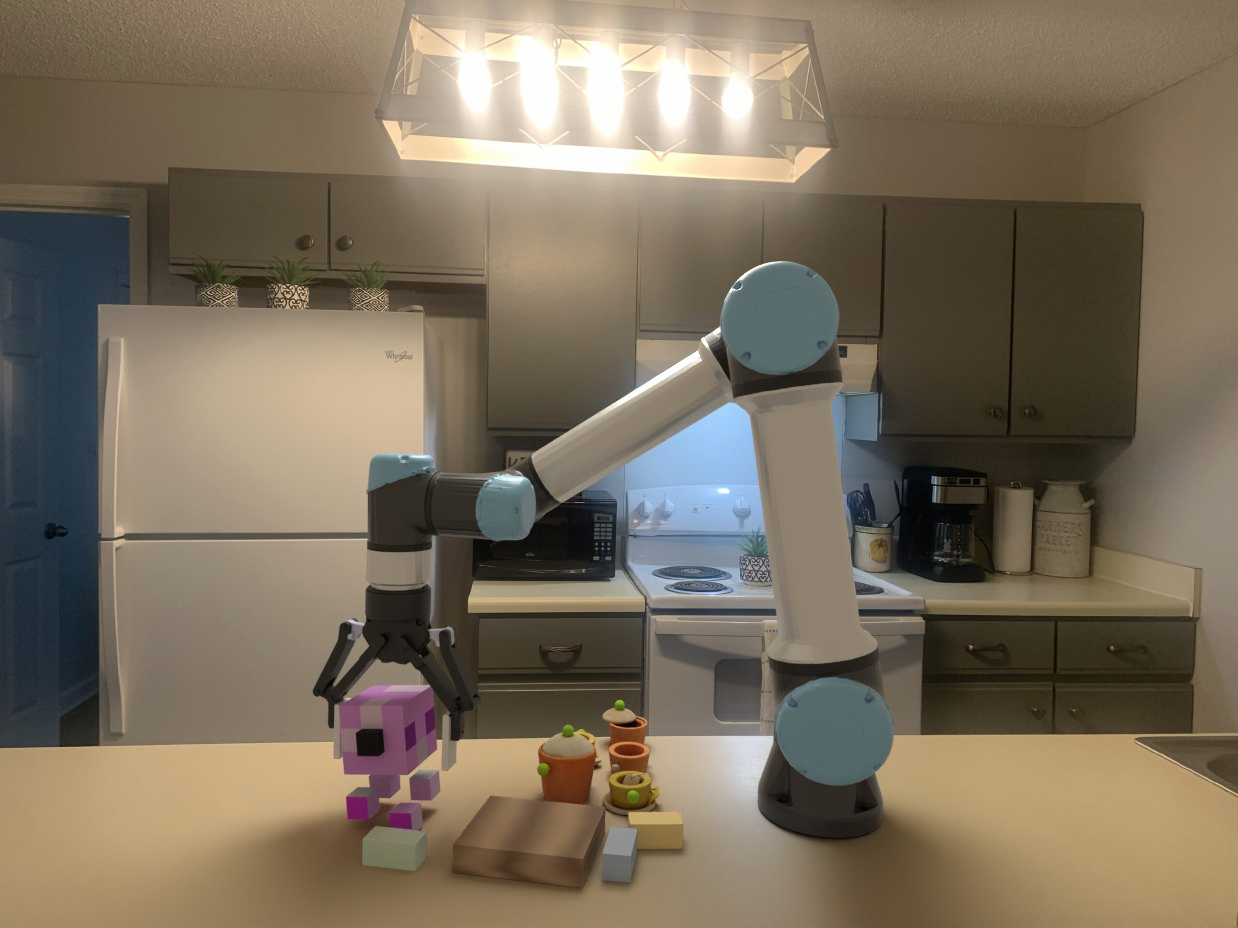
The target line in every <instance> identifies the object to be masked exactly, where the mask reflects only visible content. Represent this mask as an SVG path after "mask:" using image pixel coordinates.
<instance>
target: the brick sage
mask: <svg viewBox="0 0 1238 928" xmlns="http://www.w3.org/2000/svg"><path fill="white" fill-rule="evenodd" d="M361 846H362V848H361V849H362V851H361V853H362V856H361V857H362V858H361V861H362V863H361V864H362V865H361V866H369V867H374V868H375V867H376V868H377V867H378V868H386V869H393V870H394V869H395V870H402V871H412V872H416V871H417V870H418V868H419V867H420V866H421V865H422V863H423V862H425V860H426V858H427V857H428V856H427V855H428V853H427V851H428V831H425V830H409V829H399V828H390V827H388V826H387V827H386V826H382V825H381V826H380V825H375V826H374V827H373V828H372V829H371V830H370V831H369V832H368V833H367V834H366V835H365V836H364V837H363V838H362V845H361Z"/></svg>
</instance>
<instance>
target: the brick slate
mask: <svg viewBox="0 0 1238 928" xmlns="http://www.w3.org/2000/svg"><path fill="white" fill-rule="evenodd" d="M601 854H602V855H601V858H602V859H601V881H606V882H607V881H610V882H617V883H618V882H619V883H631V882H632V877H633V872H634V868H635V864H636V859H637V855H638V849H637V829H633V828H628V827H619V826H610V827H609V829H608V833H607V837H606V841H605V843H604V847H603V849H602V853H601Z"/></svg>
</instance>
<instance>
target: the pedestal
mask: <svg viewBox="0 0 1238 928" xmlns="http://www.w3.org/2000/svg"><path fill="white" fill-rule="evenodd" d="M463 829H464V830H462V832H461V833H460V835H459V836H458V837H457V839H456V840H455V841H453V844H452V873H454V874H463V875H470V876H471V875H472V876H480V877H485V878H486V877H487V878H496V879H505V880H512V881H520V882H521V881H522V882H530V883H539V884H546V885H555V886H556V885H557V886H563V887H571V888H573V887H574V888H582V889H583V887H584V885H585V883H586V880H587V878H588V875H589V873H590V871H591V869H592V866H593V862H594V861H595V858H596V856H597V853H598V850H599V848H600V845H601V843H602V841H603V839H604V835H605V834H606V807H605V806H601V805H599V806H598V805H591V804H590V805H589V804H571V803H561V802H551V801H545V800H539V799H530V798H519V797H508V796H499V795H498V796H497V795H491V794H490V796H489V797H488V798H487V799H486V800H485V802H484V803H483V804H482V806H481V808H480V809H479V810H478V811H477V812H476V813H475V815H474V816H473V818H472V819H471V820H470V821H469V823H468V824H467V825H466V827H465V828H463Z"/></svg>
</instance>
